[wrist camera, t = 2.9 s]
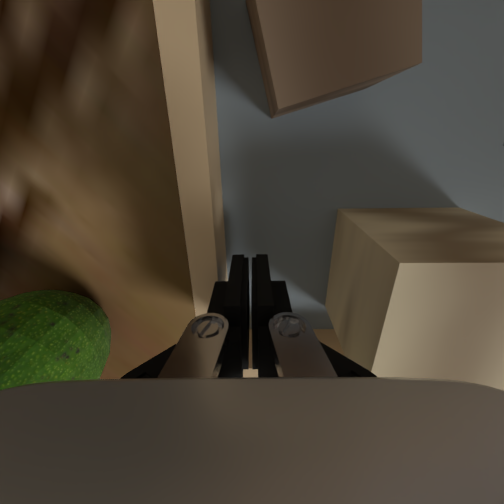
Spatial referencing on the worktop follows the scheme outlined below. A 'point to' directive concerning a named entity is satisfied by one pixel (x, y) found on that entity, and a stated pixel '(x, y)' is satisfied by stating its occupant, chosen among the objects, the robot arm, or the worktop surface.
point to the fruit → (51, 338)
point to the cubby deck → (323, 144)
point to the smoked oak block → (331, 47)
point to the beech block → (419, 293)
